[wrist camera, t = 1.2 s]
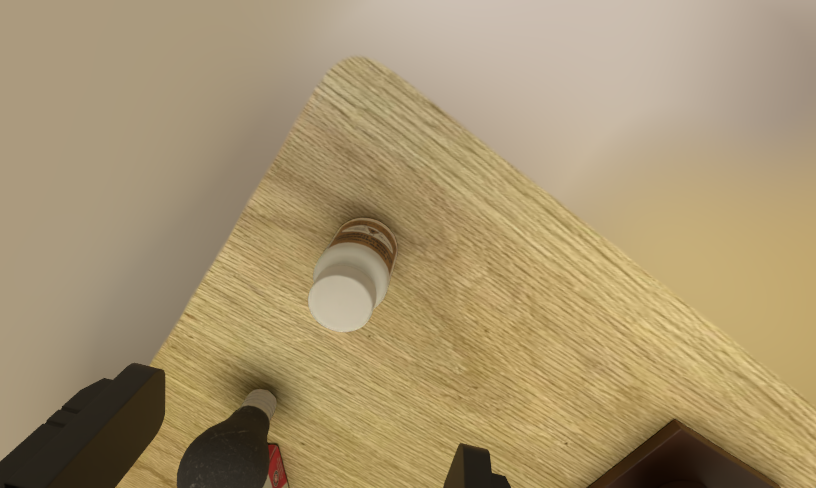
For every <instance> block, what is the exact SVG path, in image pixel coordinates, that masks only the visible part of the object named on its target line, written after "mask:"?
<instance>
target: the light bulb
mask: <svg viewBox="0 0 816 488" xmlns="http://www.w3.org/2000/svg"><path fill="white" fill-rule="evenodd" d="M276 406H277V401H276V398H275V397H274V395H273V394H271V393H270V392H269V391H268V390H263V389H257V390H253V391H252V392H250V393H249V394H248V395H247V397H246V398H245V400H244V402H243V403H242V405H241V406H240V408H239V409H237V410H236V411H235V412H234V413H233V414H232V415H231V416H230V417H229V418H228V419H226V420H225V421H223V422H221V423H219V424H217V425H215V426H212V427H210V428H209V429H207V430H206V431H205V432H203V433H202V434H201V435H199V436H198V437H197V438H196V439H195V440H194V441H193V442H192V443H191V444H190V446H189V447H188V448H187V450H186V451H185V453H184V455H183V457H182V459H181V461H180V465H179V469H178V472H177V488H263V486H264V484H265V482H266V479H267V476H268V472H269V464H270V458H269V448H268V442H267V434H268V430H269V424H270V423H269V422H270V420H271V418H272V416H273V414H274V412H275V408H276Z"/></svg>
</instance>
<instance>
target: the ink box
mask: <svg viewBox="0 0 816 488" xmlns="http://www.w3.org/2000/svg"><path fill="white" fill-rule="evenodd" d="M268 448H269V458H270V464H269V472H268V476H267V479H266V482H265V484H264V486H263V488H289V487H288V483H287V479H286V475H285V471H284V468H283V464H282V460H281V456H280V452H279V449H278V446H277V445H268Z"/></svg>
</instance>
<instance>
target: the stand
mask: <svg viewBox="0 0 816 488" xmlns="http://www.w3.org/2000/svg"><path fill="white" fill-rule="evenodd" d="M588 488H781V487H780V486H779V485H778V484H776V483H775V482H773V481H771V480H770V479H768V478H767V477H765V476H764V475H762V474H760V473H759V472H757V471H756V470H754V469H753V468H751V467H749V466H748V465H746V464H745V463H743V462H742V461H740V460H738V459H737V458H735V457H734V456H732V455H731V454H729V453H727V452H726V451H724V450H723V449H721V448H720V447H718V446H716V445H715V444H713V443H712V442H710V441H709V440H707V439H705V438H704V437H702V436H701V435H699V434H698V433H696V432H694V431H693V430H691V429H690V428H688V427H686V426H685V425H683V424H682V423H680V422H679V421H677V420H673V421H672V422H671V423H669V424H668V425H667V426H666V427H664V428H663V429H662V430H660V431H659V432H658V433H657V434H655V435H654V436H653V437H652V438H650V439H649V440H648V441H647V442H645V443H644V444H643V445H641V446H640V447H639V448H638V449H636V450H635V451H634V452H633V453H631V454H630V455H629V456H627V457H626V458H625V459H624V460H622V461H621V462H620V463H619V464H617V465H616V466H615V467H614V468H612V469H611V470H610V471H608V472H607V473H606V474H605V475H603V476H602V477H601V478H600V479H598V480H597V481H596V482H594V483H593V484H592V485H591V486H589V487H588Z"/></svg>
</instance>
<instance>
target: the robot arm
mask: <svg viewBox="0 0 816 488" xmlns="http://www.w3.org/2000/svg"><path fill="white" fill-rule="evenodd" d="M164 416H165V372H164V370H162V369H158V368H154V367H150V366H146V365H141V364H137V363H132V364H130V365H129V366H127V367H126V368H125V369H124V370H123V371H122V372H121V373H120V374H119V375H118V376H117V377H116V378H115V379H114V380H110V379H106V378H104V379H101V380H99V381H98V382H96V383H93V384H92V385H90V386H88V387H86V388H84V389H82V390H80V391H79V392H78V393H77V394H76V395H74V396H73V397H72V398H71V399H70V400H69V401H68V402H67V403H65V405H64V406H62V409H61V410H58V411H56V412H55V413H54V414H53V415H52V416H51V417H50V418H49V419H48V420H47V422H46V423H45V424H42V425H41V426H40V427H39V428H37V429H36V430H35V431H34V432H33V433H32V434H31V435H30V436H28V437H27V438H26V439H25V440H24V441H23V442H22V443H21V444H19V445H18V446H17V447H16V448H15V449H14V450H13V451H12V452H10V454H8V455H7V456H6V457H5V458H4V459H3V460H1V461H0V488H115V487H116V486H117V485H118V483H119V482H120V481H121V479H122V478H123V477H124V476H125V474H126V473H127V472H128V471H129V469H130V468H131V467H132V465H133V464H134V463H135V462H136V460H137V459H138V458H139V457H140V455H141V454H142V453H143V451H144V450H145V449H146V448H147V446H148V445H149V444H150V443H151V441H152V440H153V439H154V437H155V436H156V434H157V433H158V431H159V429H160V427H161V425H162V422H163V420H164ZM443 488H511V486H510V485H509V483H508V481H507V479H506V477H505V476H502V475H498V474H494V473H492V471H491V461H490V454H489V451H488V450H487V449H483V448H479V447H475V446H471V445H467V444H463V443H460V444H459V446H458V448H457V451H456V453H455V456H454V459H453V461H452V464H451V467H450V469H449V472H448V475H447V477H446V480H445V483H444V487H443Z"/></svg>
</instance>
